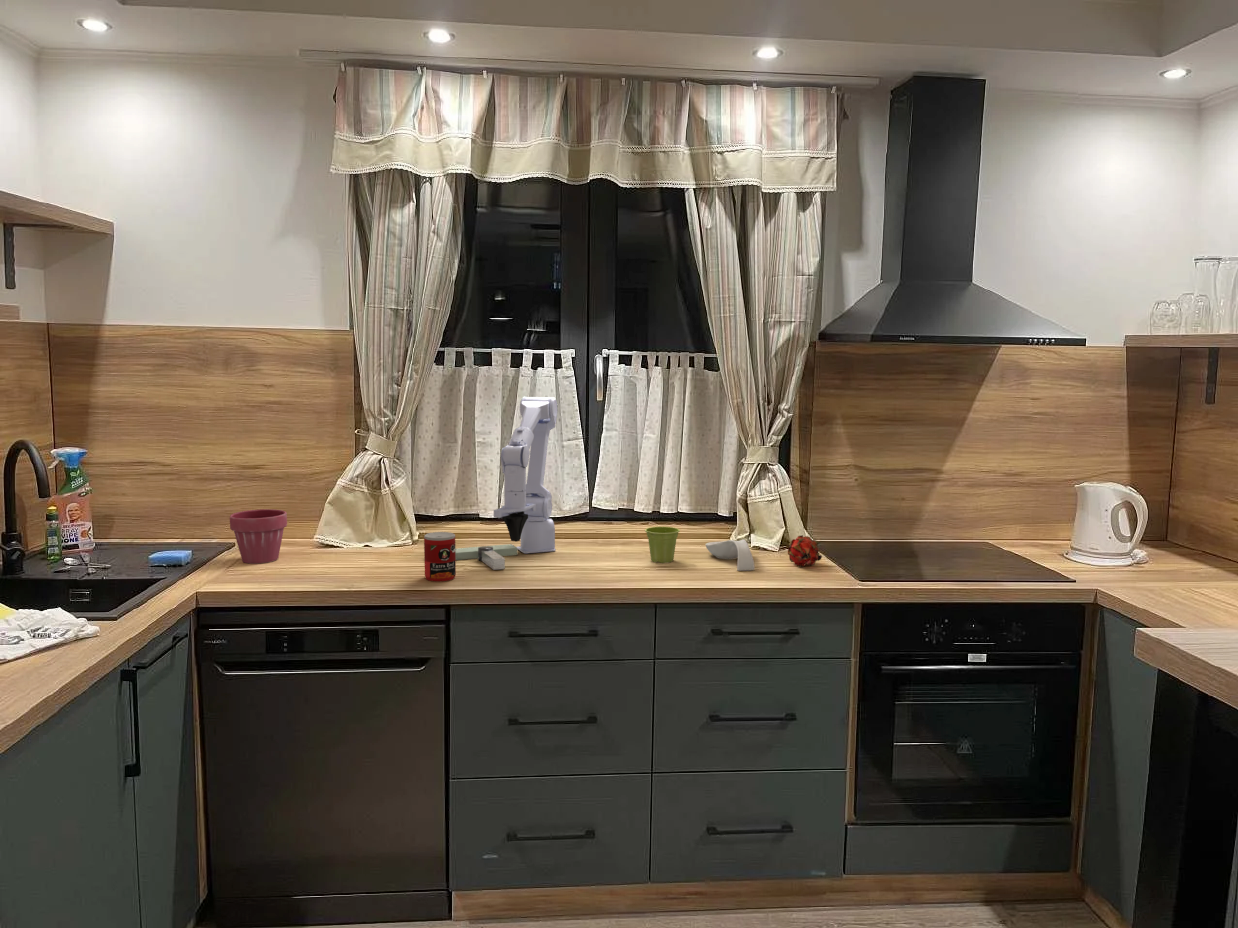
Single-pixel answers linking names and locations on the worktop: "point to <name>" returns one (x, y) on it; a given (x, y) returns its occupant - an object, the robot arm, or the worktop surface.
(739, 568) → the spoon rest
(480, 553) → the latch bar
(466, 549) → the pale green flat bar
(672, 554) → the plant pot
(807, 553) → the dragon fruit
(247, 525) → the plant pot
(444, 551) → the canned food
